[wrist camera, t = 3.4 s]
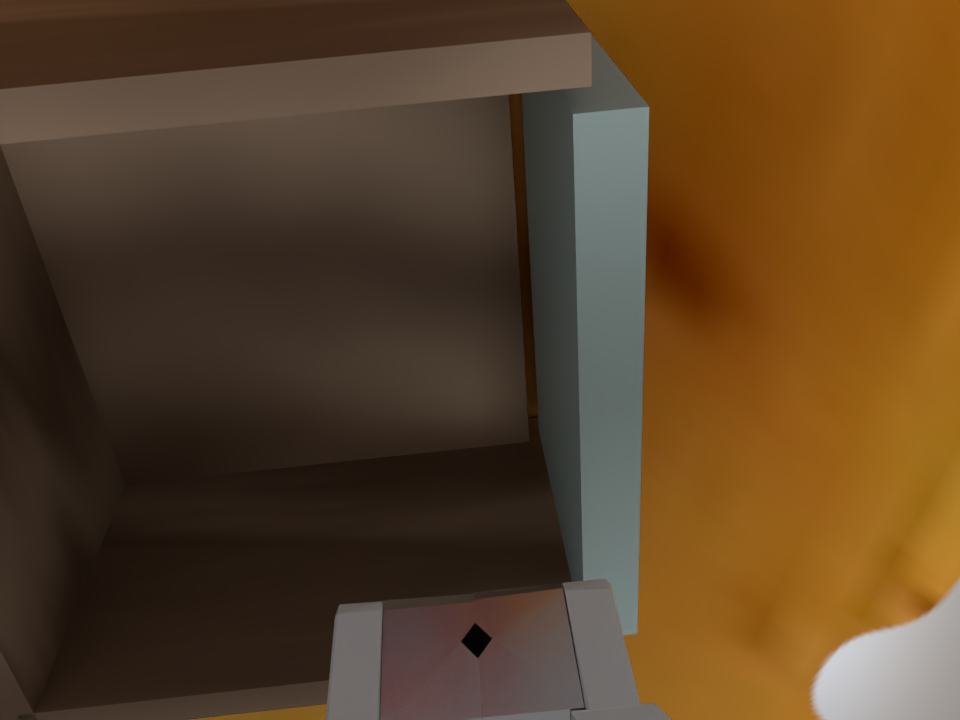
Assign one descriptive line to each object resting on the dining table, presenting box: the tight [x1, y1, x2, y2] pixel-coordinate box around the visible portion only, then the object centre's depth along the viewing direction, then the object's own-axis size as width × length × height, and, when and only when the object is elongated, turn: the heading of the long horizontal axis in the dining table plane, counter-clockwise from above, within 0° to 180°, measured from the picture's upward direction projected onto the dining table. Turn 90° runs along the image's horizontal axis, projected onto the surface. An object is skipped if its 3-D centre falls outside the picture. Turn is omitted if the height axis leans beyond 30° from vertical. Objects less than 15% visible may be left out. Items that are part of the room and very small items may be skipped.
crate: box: [0, 0, 592, 720], centre depth 21 cm, size 14×14×9 cm
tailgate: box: [521, 35, 649, 635], centre depth 21 cm, size 12×1×8 cm, turn 4°
